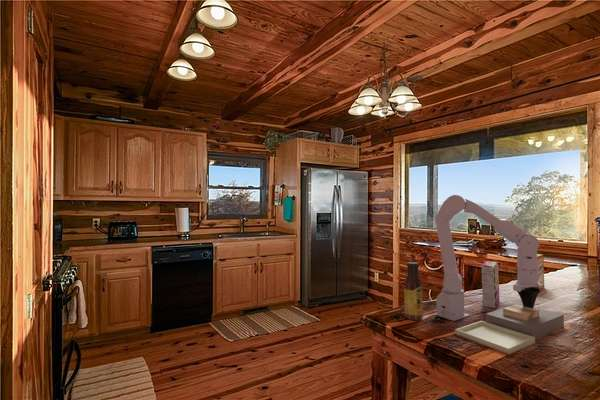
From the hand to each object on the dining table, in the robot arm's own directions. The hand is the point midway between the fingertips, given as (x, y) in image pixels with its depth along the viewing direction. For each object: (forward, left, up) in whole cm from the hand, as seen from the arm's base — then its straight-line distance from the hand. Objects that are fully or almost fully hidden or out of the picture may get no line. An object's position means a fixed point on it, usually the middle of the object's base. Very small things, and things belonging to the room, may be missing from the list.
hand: (528, 309), depth 109 cm
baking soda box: (+51, +22, -5) cm, 56 cm away
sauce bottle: (-27, +25, -5) cm, 37 cm away
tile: (-5, 0, -1) cm, 5 cm away
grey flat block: (-3, 0, -5) cm, 6 cm away
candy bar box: (+11, +19, -5) cm, 23 cm away
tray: (-21, 0, -5) cm, 21 cm away
